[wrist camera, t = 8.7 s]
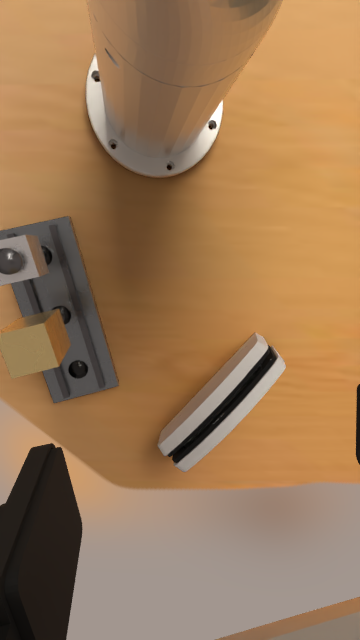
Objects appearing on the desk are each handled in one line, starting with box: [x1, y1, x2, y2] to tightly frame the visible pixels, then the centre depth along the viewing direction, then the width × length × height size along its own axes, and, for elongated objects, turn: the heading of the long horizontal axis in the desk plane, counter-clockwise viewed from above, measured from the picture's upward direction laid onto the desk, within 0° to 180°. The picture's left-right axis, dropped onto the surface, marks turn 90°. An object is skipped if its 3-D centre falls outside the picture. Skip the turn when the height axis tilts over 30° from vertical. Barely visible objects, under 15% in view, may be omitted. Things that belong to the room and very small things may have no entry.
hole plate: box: [0, 216, 119, 403], centre depth 29 cm, size 18×7×10 cm, turn 12°
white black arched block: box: [158, 333, 286, 472], centre depth 35 cm, size 17×5×10 cm, turn 136°
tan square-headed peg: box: [0, 309, 71, 379], centre depth 27 cm, size 3×3×11 cm
